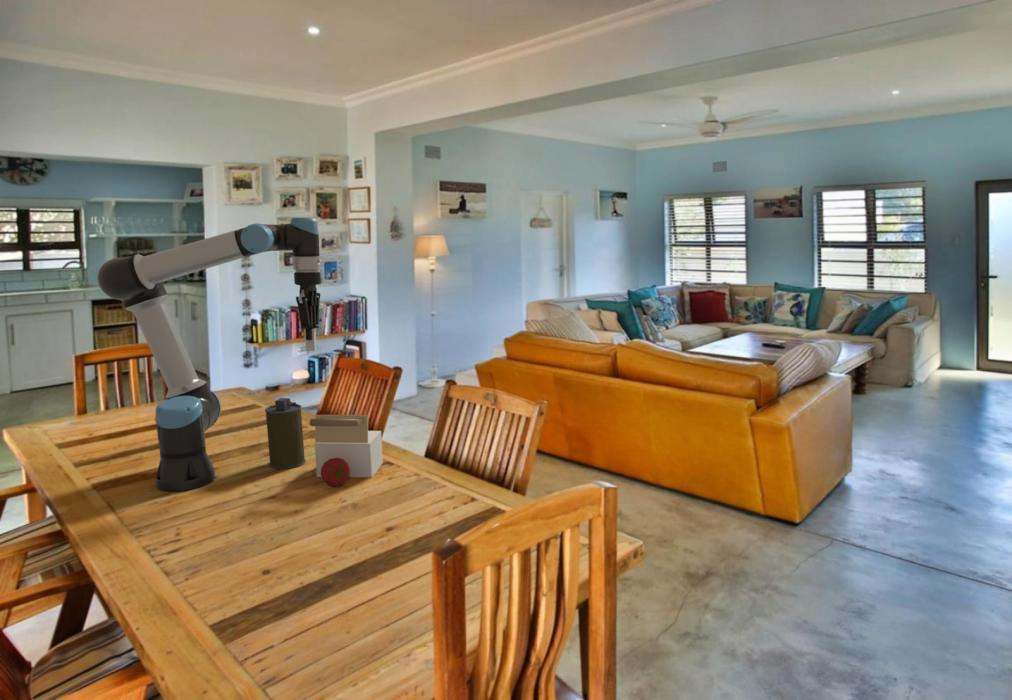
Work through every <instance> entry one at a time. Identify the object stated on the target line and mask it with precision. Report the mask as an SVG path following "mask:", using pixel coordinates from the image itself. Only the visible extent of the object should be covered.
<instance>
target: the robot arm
mask: <svg viewBox="0 0 1012 700" xmlns="http://www.w3.org/2000/svg"><path fill="white" fill-rule="evenodd" d="M318 227H319V226H318V220H317V219H316V218H314V217H292V218H291V219H290V223H288V224H268V223H267V224H265V223H264V224H263V223H252V224H248V225H247V226H245V227H242V228H239V229H236V230H232V231H228V232H224V233H222V234H217V235H213V236H211V237H207V238H204V239H200V240H196V241H193V242H190V243H187V244H183V245H180V246H176V247H172V248H170V249H169V248H168V249H166V250H161V251H159V252H155V253H152V254H148V255H144V256H143V255H141V254H139V253H137V254H135V255H131V256H130V255H129V256H125V257H115V258H111V259H109V260H107V261H106V262H104V263H103V264H102V265H101V266H100V268H99V270H98V273H97V283H98V286H99V288H100V290H101V291H102V292H103V293H104V295H106V296H108V297H109V298H110V299H114V300H118V301H121V303H122V305H123V307H124V309H125V310H127V311H129V312H131V313H132V314H134V317H135V319H136V322H137V323H138V325H139V328H140V330H141V332H142V334H143V336H144V339H145V341H146V343H147V345H148V347H149V350H150V352H151V353H152V356H153V358H154V361H155V362H156V366H157V367H158V369H159V372H160V375H161V376H162V378H163V381H164V383H165V385H166V387H167V389H168V390H167V393H166V394H165V399H164V400H163V401H160V402H159V404H157V406H156V407H155V411H154V412H155V416H154V422H155V425H156V433H157V440H158V448H159V455H160V456H159V457H160V459H159V464H158V467H157V471H156V476H155V485H156V488H157V489H158V490H160V491H163V492H183V491H189V490H194V489H197V488H201V487H203V486H206V485H208V484H210V483H212V482H214V480H215V479H216V469H215V467H214V465H213V463H212V462H211V459H210V457H209V455H208V453H207V446H206V438H205V435H206V434H205V432H206V431H208V429H209V428H211V427H212V426H214V425H215V424H216V423H217V422H218V419H219V417H220V415H221V413H222V403H221V400H220V398H219V396H218V395H217V394H216V393H215V392H214V391H212V390H210V388H209V385H208V383H207V381H206V380H204V379H201V378H199V377H198V374H197V372H196V370H195V367H194V365H193V363H192V361H191V358H190V356H189V354H188V351H187V350H186V348H185V345H184V342H183V340H182V339H181V336H180V334H179V332H178V329H177V327H176V325H175V323H174V320H173V317H172V316H171V312H170V311H169V309H168V307H167V303H166V300H167V299H168V296H169V295H168V292H167V290H166V288H165V286H164V285H165V282H167V281H169V280H173V279H176V278H180V277H183V276H186V275H190V274H192V273H197V272H200V271H203V270H206V269H210V268H213V267H217V266H220V265H223V264H226V263H230V262H234V261H237V260H240V259H244V258H246V257H251V256H255V255H259V254H261V253H266V252H284V251H285V252H287V251H288V252H289V251H292V264H293V266H292V267H293V270H294V273H293V278H294V280H293V281H294V285H296V286H299V290H298V292H299V296H295V301H296V304H297V309H298V314H299V321H300V326H301V330H304V336H305V337H304V338H305V350H306V351H308V352H309V351H310V352H315V351H317V350H318V349H317V330H316V329H319V328H320V326H319V323H320V319H319V317H320V300H321V293H320V292H318V291H317V285H321V284H322V275H321V272H320V271H319V270H321V263H322V259H320V257H321V255H320V233H319V228H318Z"/></svg>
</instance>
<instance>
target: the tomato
mask: <svg viewBox="0 0 1012 700" xmlns="http://www.w3.org/2000/svg"><path fill="white" fill-rule="evenodd" d="M349 475H350V469H349V466H348V463H347V462H346V461H345V460H343V459H341V458H332V459H329V460H328V461H326V462H325V463H324V464H323V466H322V468H321V479H322V481H323V482H324V484H326V485H327V486H328V487H333V488H336V487H340V486H342V485H343V484H345V483H346V482H347V481H348V479H349V478H350V477H349Z"/></svg>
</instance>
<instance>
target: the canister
mask: <svg viewBox="0 0 1012 700" xmlns="http://www.w3.org/2000/svg"><path fill="white" fill-rule="evenodd" d="M264 412H265V416H266V418H265V419H266V429H267V430H266V432H267V440H268V453H269V467H270V468H272V469H276V470H288V469H293V468H297V467H299V466H302V465H305V463H306V457H305V446H304V445H305V444H304V434H303V433H304V431H303V419H302V418H303V417H302V416H303V415H302V405H301V404H298V403H297V402H293V401H291V398H288V397H287V398H286V397H279V398H278V399H276V400H275V401H274V404H273V405H269V406H268V407H266V408H265V409H264Z"/></svg>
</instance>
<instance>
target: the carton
mask: <svg viewBox="0 0 1012 700" xmlns="http://www.w3.org/2000/svg"><path fill="white" fill-rule="evenodd" d="M382 440H383V437H382V430H368V443H315V442H314V450H315V451H314V452H315V453H314V455H315V468H316V477H321V468H322V466H323V464H324V463H325V462H326V461H328V460H329V459H332V458H341V459H343V460H345V461H346V462H347V463H348V466H349V469H350V475H349V478H373V477H374V475H375V474H376V472H377V471H378V470H379V468H380V467H381V466H382V464H384V462H383V441H382ZM321 478H322V477H321Z"/></svg>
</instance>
